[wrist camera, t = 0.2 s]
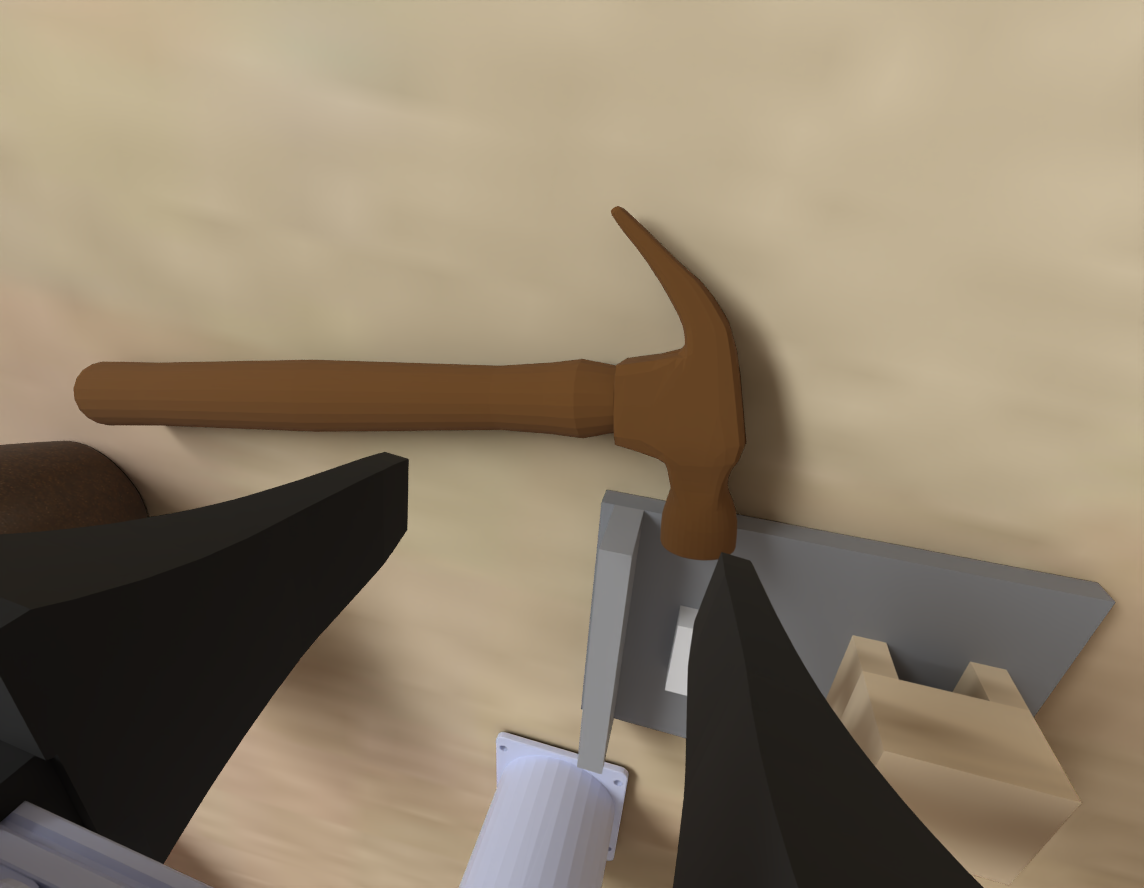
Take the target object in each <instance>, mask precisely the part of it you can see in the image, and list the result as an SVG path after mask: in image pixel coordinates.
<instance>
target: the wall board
mask: <svg viewBox="0 0 1144 888" xmlns="http://www.w3.org/2000/svg"><path fill="white" fill-rule="evenodd" d="M665 502H666V501H663V500H658V499H653V498H648V497H642V496H637V495H632V494H626V493H621V492H616V491H611V490H606V492H605V495H604V497H603V500H602V503H601V513H600V524H599V534H598V544H597V554H596V564H595V574H594V584H593V594H592V604H591V614H590V624H589V634H588V644H587V654H586V665H585V675H584V685H583V695H582V705H581V709H583V713H582V722H581V732H580V742H579V752H578V762H577V767H578V768H582V769H585V770H588V771H592V772H595V773H598V774H602V771H603V766H604V762H605V757H606V752H607V748H608V743H609V738H610V734H611V729H612V724H613V720H614V718H615V719H619V720H622V721H626V722H629V723H633V724H637V725H640V726H644V727H647V728H651V729H654V730H658V731H662V732H665V733H669V734H672V735H676V736H680V737H683V738H686V719H687V676H688V660H689V653H690V646H691V639H692V632H693V626H694V620H695V618H696V615H697V613H698V610H699V608H700V605H701V603H702V600H703V597H704V595H705V592H706V590H707V587H708V585H709V582H710V579H711V577H712V574H713V572H714V569H715V567H716V564H717V562H718V559H717V560H705V561H703V560H693V559H687V558H683V557H680V556H677V555H675V554H673V553H671V552H669V551H668V550H666V549H665V548H664V547H663V545H662V544H661V540H660V533H661V519H662V512H663V509H664V505H665ZM736 516H737V539H736V548H735V550H734V552H733V553H731V554H730V555H733V556H737V557H740V558H743V559H747V560H750V561H751V562H752V564H753V566H754V568H755V570H756V572H757V574H758V576H759V578H760V581H761V583H762V585H763V587H764V589H765V591H766V593H767V595H768V598H769V600H770V602H771V604H772V606H773V608H774V610H775V612H776V614H777V616H778V618H779V620H780V622H781V624H782V626H783V627H784V629H785V631H786V633H787V635H788V637H789V639H790V640H791V642H792V644H793V646H794V648H795V650H796V651H797V653H798V655H799V657H800V658H801V660H802V662H803V664H804V665H805V667H806V669H807V670H808V672H809V674H810V675H811V677H812V678H813V680H814V682H815V683H816V685H817V687H818V688H819V690H820V691H821V693H822V694H823V696H824V697H825V699H826V698H827V695H828V693H829V690H830V688H831V686H832V683H833V681H834V678H835V676H836V674H837V671H838V669H839V667H840V664H841V662H842V659H843V657H844V655H845V652H846V650H847V648H848V645H849V643H850V640H851V638H852V636H853V635H854V636H859V637H863V638H868V639H872V640H877V641H881V642H885V643H887V646H888V649H889V652H890V655H891V658H892V661H893V664H894V667H895V670H896V673H897V676H898V679H899V680H903V681H907V682H911V683H916V684H920V685H924V686H928V687H932V688H937V689H941V690H945V691H949V692H953V690H954V688H955V687H956V685H957V683H958V682H959V680H960V678H961V676H962V675H963V673H964V671H965V670H966V668H967V666H968V664H969V663H970V662H974V663H979V664H983V665H988V666H992V667H996V668H1001V669H1005V670H1007V671H1008V673H1009V675H1010V677H1011V679H1012V680H1013V682H1014V684H1015V686H1016V687H1017V689H1018V691H1019V693H1020V694H1021V696H1022V698H1023V700H1024V701H1025V703H1026V705H1027V707H1028V709H1029V710H1030V712H1031V714H1032V716H1033V717H1034V716H1035V715H1036V713H1037V712H1038V711H1039V709H1040V708H1041V706H1042V705H1043V704H1044V702H1045V701H1046V699H1047V698H1048V697H1049V695H1050V694H1051V692H1052V691H1053V690H1054V688H1055V687H1056V685H1057V684H1058V682H1059V681H1060V680H1061V678H1062V677H1063V675H1064V674H1065V673H1066V671H1067V670H1068V668H1069V667H1070V666H1071V664H1072V663H1073V661H1074V660H1075V659H1076V657H1077V656H1078V654H1079V653H1080V652H1081V650H1082V649H1083V647H1084V646H1085V644H1086V643H1087V642H1088V640H1089V639H1090V637H1091V636H1092V635H1093V633H1094V632H1095V630H1096V629H1097V628H1098V626H1099V625H1100V623H1101V622H1102V621H1103V619H1104V618H1105V616H1106V615H1107V613H1108V612H1109V611H1110V609H1111V608H1112V606H1113V605H1114V604H1115V601H1114V600H1113V599H1112V598H1111V597H1110V596H1109V595H1108V593H1107V592H1106V591H1105V590H1104V589H1103V588H1102V587H1101V586H1100V585H1099V584H1098V583H1096V582H1091V581H1085V580H1080V579H1075V578H1069V577H1064V576H1059V575H1054V574H1048V573H1043V572H1038V571H1033V570H1027V569H1022V568H1017V567H1011V566H1006V565H1001V564H996V563H990V562H985V561H980V560H974V559H969V558H964V557H959V556H953V555H948V554H943V553H938V552H932V551H927V550H922V549H916V548H911V547H906V546H901V545H895V544H890V543H885V542H880V541H874V540H869V539H864V538H858V537H853V536H848V535H843V534H837V533H832V532H827V531H822V530H816V529H811V528H806V527H800V526H795V525H790V524H785V523H779V522H774V521H769V520H764V519H758V518H753V517H748V516H742V515H737V514H736Z"/></svg>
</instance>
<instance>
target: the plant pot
mask: <svg viewBox="0 0 1144 888" xmlns="http://www.w3.org/2000/svg"><path fill="white" fill-rule="evenodd" d="M142 518H148V517H147V512H146V509H145V506H144V503H143V501H142V499H141V497H140V495H139V493H138V492H137V490H136V488H135V487H134V485H133V484H132V483H131V481H130V480H129V479H128V478H127V477H126V475H125V474H124V473H123V472H122V471H121V470H120V469H119V468H118V467H117V466H116V465H115V464H114V463H113V462H112V461H111V460H109V459H108V458H107V457H105V456H104V455H102V454H101V453H99V452H97V451H96V450H94V449H92V448H90V447H88V446H86V445H83V444H80V443H77V442H72V441H52V442H34V443H20V444H6V445H0V534H13V533H28V532H40V531H51V530H60V529H70V528H80V527H88V526H96V525H104V524H111V523H118V522H125V521H131V520H136V519H142Z"/></svg>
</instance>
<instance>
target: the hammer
mask: <svg viewBox="0 0 1144 888" xmlns="http://www.w3.org/2000/svg"><path fill="white" fill-rule="evenodd" d="M611 213H612V216H613V217H614V219H615V220H616V222H617V223H618V225H619V226H620V228H621V229H622V230H623V232H624V233H625V234H626V235H627V237H628V238H629V239H630V240H631V241H632V243H633V244H634V245H635V246H636V248H637V249H638V250H639V252H640V253H641V254H642V256H643V257H644V259H645V260H646V261H647V263H648V264H649V266H650V267H651V269H652V270H653V272H654V273H655V275H656V276H657V278H658V280H659V281H660V283H661V284H662V286H663V288H664V290H665V291H666V293H667V295H668V297H669V298H670V300H671V302H672V304H673V306H674V308H675V310H676V311H677V313H678V316H679V318H680V320H681V322H682V325H683V329H684V334H685V345H684V346H683V348H682V349H678V350H674V351H670V352H666V353H662V354H654V355H647V356H639V357H632V358H627V359H625V360H624V361H622V362H621V363H619V364H618V365H616V366H615V365H610V364H605V363H600V362H595V361H590V360H585V359H580V360H571V361H562V362H553V363H538V364H522V365H506V366H489V365H458V364H427V363H395V362H364V361H333V360H280V361H227V362H173V363H144V362H99V363H96V364H92V365H90V366H89V367H87V368H86V369H84V370H83V371H82V372H81V373H80V375H79V376H78V377H77V379H76V382H75V386H74V398H75V401H76V403H77V405H78V407H79V409H80V410H81V411H82V412H83V413H84V414H85V415H86V416H87V417H88V418H89V419H91V420H93V421H95V422H97V423H100V424H105V425H166V426H191V427H216V428H241V429H266V430H290V431H315V432H324V431H422V430H510V431H522V432H534V433H547V434H556V435H563V436H570V437H578V438H586V437H592V436H597V435H603V434H609V433H614V440H615V445H618V446H622V447H625V448H628V449H631V450H634V451H638V452H641V453H643V454H646V455H649V456H652V457H655V458H657V459H659V460H661V461H662V462H664V463H665V464H666V467H667V470H668V475H669V480H670V485H671V489H670V492H669V494H668V497H667V500H666V502H665V505H664V509H663V512H662V519H661V533H660V540H661V544H662V545H663V547H664V548H665V549H666V550H668V551H669V552H671V553H673V554H675V555H677V556H680V557H683V558H687V559H693V560H703V561H705V560H717V559H719V556H720V554H721V552H723V553H727V554H731V553H733V552H734V550H735V548H736V539H737V516H736V510H735V506H734V503H733V500H732V497H731V495H730V493H729V489H728V485H727V484H728V478H729V475H730V473H731V470H732V469H733V467H734V466H735V465H736V464H737V462H738V461H739V458H740V456H741V454H742V451H743V449H744V447H745V444H746V434H745V422H744V411H743V399H742V388H741V376H740V368H739V363H738V353H737V349H736V345H735V342H734V338H733V335H732V331H731V328H730V325H729V322H728V320H727V318H726V316H725V315H724V313H723V311H722V310H721V308H720V306H719V305H718V303H717V301H716V300H715V298H714V297H713V296H712V294H711V293H710V292H709V290H708V289H707V288H706V287H705V286H704V284H703V283H702V282H701V281H700V280H699V279H698V278H697V277H696V276H694V275H693V274H692V273H691V272H690V271H688V270H687V269H686V268H685V267H684V266H683V265H682V264H681V263H680V262H679V261H678V260H677V259H675V258H674V257H673V256H672V255H671V254H670V253H669V252H668V251H667V250H666V249H665V248H664V247H663V246H662V245H661V244H660V243H659V242H658V241H657V240H656V239H655V238H654V237H653V236H652V235H651V234H650V233H649V232H648V231H647V230H646V229H645V228H644V227H643V226H642V225H641V224H640V223H639V222H638V221H637V220H636V219H635V218H634V217H633V216H631V215H630V214H629V213H628V212H627V211H626V210H625V209H624V208H621V207H619V206H617V207H614V208H613V209H612V210H611Z"/></svg>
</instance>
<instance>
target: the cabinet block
mask: <svg viewBox="0 0 1144 888" xmlns="http://www.w3.org/2000/svg"><path fill="white" fill-rule="evenodd" d="M826 700H827V702H828V703H829V705H830V706H831V708H832V709H833V711H834V712H835V713H836V715H837V716H838V718H839V719H840V720H841V722H842V723H843V725H844V726H845V727H846V729H847V730H848V731H849V733H850V734H851V736H852V737H853V738H854V740H855V741H856V742H857V744H858V745H859V746H860V748H861V749H862V750H863V752H864V753H865V754H866V755H867V757H868V758H869V759H870V761H871V762H872V763H873V764H874V766H875V767H876V768H877V769H878V770H879V772H880V773H881V774H882V775H883V777H884V778H885V779H886V780H887V781H888V783H889V784H890V785H891V786H892V788H893V789H894V790H895V791H896V792H897V794H898V795H899V796H900V797H901V798H902V800H903V801H904V802H905V803H906V804H907V805H908V807H909V808H910V809H911V810H912V811H913V812H914V813H915V815H916V816H917V817H918V818H919V819H920V820H921V821H922V823H923V824H924V825H925V826H926V827H927V828H928V829H929V830H930V831H931V833H932V834H933V835H934V836H935V837H936V838H937V839H938V840H939V841H940V842H941V843H942V844H943V845H944V847H945V848H946V849H947V850H948V851H949V852H950V853H951V854H952V855H953V856H954V857H955V858H956V860H957V861H958V862H959V863H960V864H961V865H962V866H963V867H964V868H965V869H966V870H967V871H968V872H969V873H970V874H972V875H975V876H978V877H982V878H985V879H988V880H992V881H995V882H998V883H1002V884H1005V885H1008V886H1009V885H1010V884H1011V883H1012V882H1013V881H1014V880H1015V878H1016V877H1017V876H1018V875H1019V874H1020V873H1021V872H1022V870H1023V869H1024V868H1025V867H1026V866H1027V865H1028V864H1029V862H1030V861H1031V860H1032V859H1033V858H1034V857H1035V856H1036V854H1037V853H1038V852H1039V851H1040V850H1041V849H1042V848H1043V846H1044V845H1045V844H1046V843H1047V842H1048V841H1049V840H1050V838H1051V837H1052V836H1053V835H1054V834H1055V833H1056V832H1057V830H1058V829H1059V828H1060V827H1061V826H1062V825H1063V824H1064V822H1065V821H1066V820H1067V819H1068V818H1069V817H1070V816H1071V814H1072V813H1073V812H1074V811H1075V810H1076V809H1077V808H1078V806H1079V805H1080V804H1081V803H1082V802H1081V800H1080V799H1079V797H1078V795H1077V793H1076V792H1075V790H1074V788H1073V786H1072V785H1071V783H1070V781H1069V779H1068V777H1067V776H1066V774H1065V772H1064V770H1063V769H1062V767H1061V765H1060V763H1059V762H1058V760H1057V758H1056V756H1055V754H1054V753H1053V751H1052V749H1051V747H1050V746H1049V744H1048V742H1047V740H1046V739H1045V737H1044V735H1043V733H1042V732H1041V730H1040V728H1039V726H1038V724H1037V723H1036V721H1035V719H1034V717H1033V716H1032V714H1031V712H1030V710H1029V709H1028V707H1027V705H1026V703H1025V701H1024V700H1023V698H1022V696H1021V694H1020V693H1019V691H1018V689H1017V687H1016V686H1015V684H1014V682H1013V680H1012V679H1011V677H1010V675H1009V673H1008V671H1007V670H1005V669H1001V668H996V667H992V666H988V665H983V664H979V663H974V662H970V663H969V664H968V666H967V668H966V670H965V671H964V673H963V675H962V676H961V678H960V680H959V682H958V683H957V685H956V687H955V688H954V690H953V692H949V691H945V690H941V689H937V688H932V687H928V686H924V685H920V684H916V683H911V682H907V681H903V680H899V679H898V676H897V673H896V670H895V667H894V664H893V661H892V658H891V655H890V652H889V649H888V646H887V643H885V642H881V641H877V640H872V639H868V638H863V637H859V636H854V635H853V636H852V638H851V640H850V643H849V645H848V648H847V650H846V652H845V655H844V657H843V659H842V662H841V664H840V667H839V669H838V671H837V674H836V676H835V678H834V681H833V683H832V686H831V688H830V690H829V693H828V695H827V698H826Z"/></svg>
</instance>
